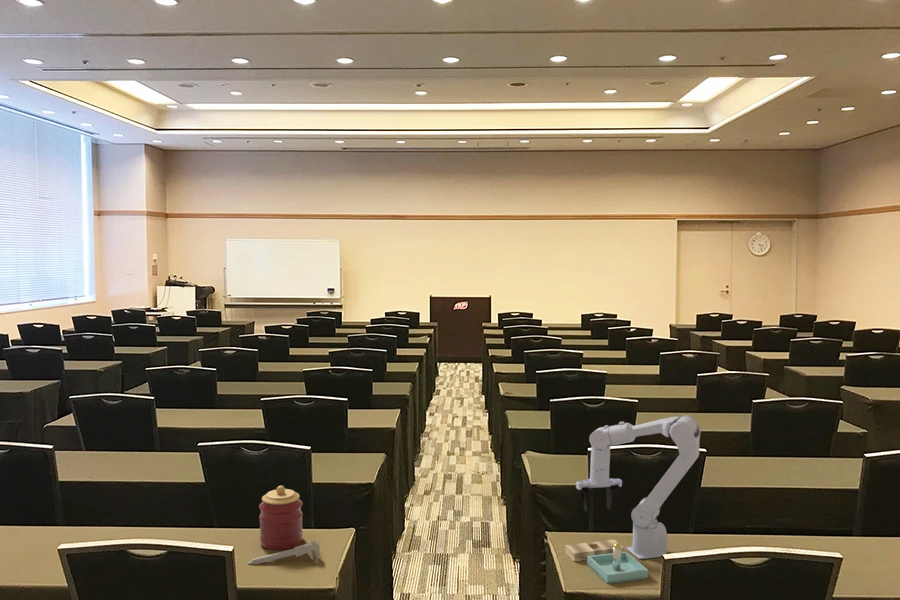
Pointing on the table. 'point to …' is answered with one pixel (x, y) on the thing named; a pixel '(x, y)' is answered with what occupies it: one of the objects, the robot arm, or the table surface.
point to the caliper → (290, 553)
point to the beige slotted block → (590, 549)
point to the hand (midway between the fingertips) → (597, 510)
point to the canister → (281, 519)
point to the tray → (627, 573)
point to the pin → (617, 557)
